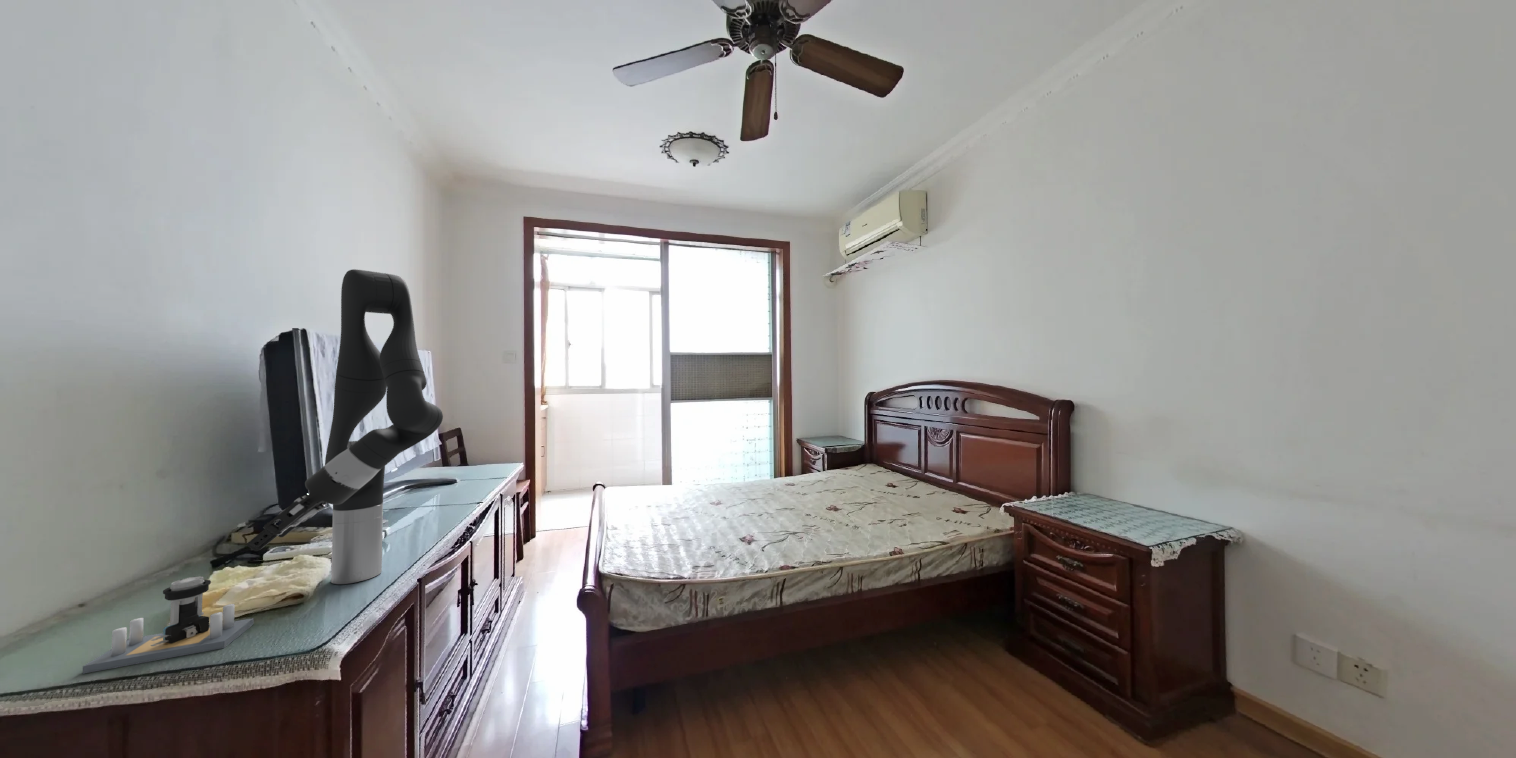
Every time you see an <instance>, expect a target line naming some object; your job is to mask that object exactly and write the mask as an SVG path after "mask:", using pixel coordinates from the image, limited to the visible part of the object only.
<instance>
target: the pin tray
mask: <svg viewBox="0 0 1516 758" xmlns="http://www.w3.org/2000/svg"><path fill="white" fill-rule="evenodd" d="M235 605H236V604H235V603H230V604H226V605H224V606H222V611H221V612H220V611H219V612H214V613H213V614H210V616H209V630H208V631H206V632H204V633H199V634H196V635H194V636H192V637H189V638H185V639H183V640H180V641H177V642H174V643H171V644H170V643H161V644H158V645H156V644H155V643H158V642H160V641H163V638H160V639H158V638H157V637H160V636H162V635H163V632H162V633H155V634H148V635H144V621H145V620H144V617H139V618H134V619H132V620H130V621H129V638H128V639H127V634H128V633H127V631H128V627H125V626H124V627H119V628H116V629H113V630H112V631H111V633H112V634H111V648H110V649H109V650H107V651H105V652H104V653H103V654H101V655H99V656H97V657H95V658H94V659H93V660H91V661H89V662H87V663H85V664H84V665H83V666H82V674H89V673H94V672H99V671H105V670H111V669H115V668H116V669H117V668H121V667H126V666H133V665H136V664H137V665H138V664H144V663H149V662H154V661H160V660H164V659H165V660H166V659H172V658H176V657H177V658H178V657H181V656H187V655H192V654H193V655H194V654H198V653H199V654H200V653H203V652H204V653H205V652H209V651H215V650H220V649H224V648H226V647H228V646H229V645H230V644H232V642H233V641H235V640H236V639H237V638H239V636H241V635H242V634H243V633H245V632H246V631H247V630H249V629H250V628H251V627H252V626H253V625H254V617H251V618H246V619H240V620H235V607H236V606H235ZM155 638H157V639H158V640H155V641H151V640H152V639H155ZM153 644H155V645H156V646H151V645H153Z"/></svg>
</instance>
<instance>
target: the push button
mask: <svg viewBox="0 0 1516 758" xmlns="http://www.w3.org/2000/svg"><path fill="white" fill-rule="evenodd" d="M211 583H212V581H211V580H210V579H204V576H192V577H186V578H182V579H178V580H176V581H173V582H171V584H170V585H171V586H169V587H167V588H165V589H163V591H162V594H163V595H164V599H165V600H167V601H170V620H169V622H168V625H167V626H165V627H164V628H163V629H162V633H163V635H162V636H160V637H157V638H158V639H160V638H163V641H160V642H158V643H155V644H156V645H158V644H161V643H170V644H171V643H174V642H177V641H180V640H183V639H185V638H189V637H192V636H194V635H196V634H199V633H204V632H206V631H208V630H209V625H210V616H206V615H204V613H205V612H204V611H203V594H204V593H206V592H208V591H209V590H210V589H209V588H210V585H211ZM157 638H155V639H152V640H151V641H155V640H158V639H157ZM155 644H153V645H151V646H156V645H155Z"/></svg>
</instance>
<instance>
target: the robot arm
mask: <svg viewBox="0 0 1516 758" xmlns="http://www.w3.org/2000/svg"><path fill="white" fill-rule="evenodd" d="M341 283H342V284H341V288H340V289H341V291H340V292H341V293H340V295H341V296H340V341H339V348H338V349H339V351H338V358H337V363H336V371H335V381H334V395H333V413H332V419H331V420H332V421H331V426H330V431H329V438H328V442H327V447H326V451H325V452H326V454H325V458H324V465H323V466H322V467H321V468H319V469H318V470H317V471H316V472H315V473H313V474H312V475H311V476H310V477H308V478H307V479H306V480H305V482H304V486H305V489H306V490H308V493H306V494H305V495H303V496H302V495H301V496H299V497H298V498H296V499H295V500H294V501H293V502H292V503H290V505H289V506H287V507H286V508H285V509H283V510H281V511H280V512H279V514H277V515H276V516H274V518H273V519H271V520H270V521H268V522H267V523H265V524H264V525H263V527H262V528H263V530H262V531H260V532H259V533H258V534H257V535H256V536H254V537H253V538H251V540H249V541H248V542H247V544H246V546H247V548H250V549H251V550H253V551H255V552H259V551H261V550H262V549H263V548H265V547H266V546H267V545H268V544H270V543H271V542H272V541H273V540H274V539H276V538H277V537H279V538H284V537H285V536H287V535H288V534H289V533H290V532H291V531H293V530H294V529H295V528H296V527H298V526H299V525H300V524H301V523H305V522H306V521H307V520H308V519H312V517H314V516H315V515H316V514H317V513H319V512H320V511H322V510H324V508H325V507H326V505H327V504H329V505H332V529H331V530H332V532H331V533H332V534H331V537H332V538H331V568H330V569H331V571H330V573H331V574H330V575H331V577H330V582H331V584H333V585H347V584H353V583H359V582H362V581H367V580H369V579H372V578H374V577H377V576H379V575H380V574H381V573H382V572H383V571H382V567H383V566H382V563H383V530H384V529H383V526H384V525H383V523H384V521H383V518H384V516H383V512H384V489H385V488H384V485H385V471H386V466H387V465H388V464H389V463H390V462H391V461H392V460H394V459H395V458H396V457H397V456H398V455H399V454H401V453H402V452H405V451H406V450H408V449H410V448H412V447H414V446H415V445H417V444H418V443H421V442H422V441H424V440H425V439H428V437H430V436H431V435H432V434H434V433H435V432H436V431H437V430H438V429H439V427H440V426H441V424H442V422H443V418H444V414H443V411H442V410H441V409H440V407H439V406H437V405H435V404H433V403H432V402H430V401H426V399H425V398H424V397H425V396H424V394H423V393H424V392H423V391H424V390H425V388H426V386H427V377H426V374H425V371H424V368H423V367H424V366H423V364H422V362H421V359H420V355H419V352H418V347H417V342H416V332H415V331H416V330H415V323H414V315H413V308H412V299H411V294H410V291H409V286H408V285H407V282H406V281H405V279H404V278H403V277H402V276H399V275H397V274H396V275H395V274H391V273H386V272H385V273H384V272H377V271H371V270H363V269H355V268H354V269H349V270H348V271H346V273H345V274H344V276H343V279H342V282H341ZM366 313H372V314H386V315H388V314H389V315H390V316H391V317H392V321H393V326H392V329H391V331H390V334H389V336H388V337H387V339H386V340H385V342H384V344H383V346H382V348H381V350H379V349H378V347H377V346H376V345H375V343H374V342H373V341H372V339H371V337H370V335H369V333H368V331H367V326H366V319H365V317H366V316H365V315H366ZM385 395H386V397H385ZM384 397H385V399H386V402H385V403H386V413H387V416H388V418H389V420H390V422H391V423H392V425H390V426H388V427H385V428H375V429H372V430H370V431H368V432H367V433H365V434H364V435H363V436H362V437H360V439H358V440H353V441H352V440H350V439H351V437H352V434H353V433H354V430H355V429H356V428H357V426H358V425H359V424H360V423H361V421H362V420H363V419H365V417H367V415H368V414H370V413H371V412H372V411H373V410H374V409H375V408H376V407H377V406H378V405H379V404H380V402H382V400H383V399H384ZM280 521H281V523H280V524H278V525H277V523H279V522H280Z"/></svg>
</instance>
